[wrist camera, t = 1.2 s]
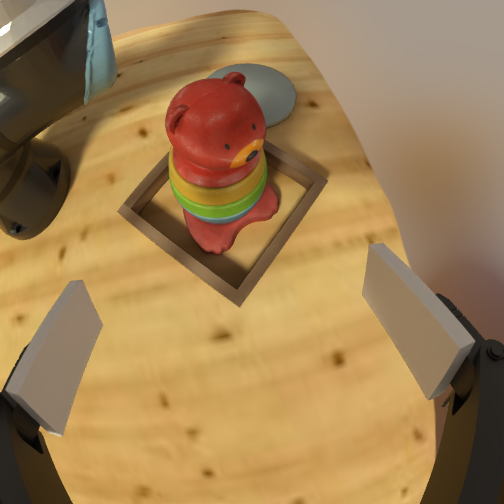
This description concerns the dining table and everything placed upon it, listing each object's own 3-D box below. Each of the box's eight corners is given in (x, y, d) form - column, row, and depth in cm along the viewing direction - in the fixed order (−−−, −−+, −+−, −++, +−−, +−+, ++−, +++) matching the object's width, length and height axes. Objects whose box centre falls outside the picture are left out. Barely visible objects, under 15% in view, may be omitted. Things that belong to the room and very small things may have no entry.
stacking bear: (211, 263, 31) (179, 198, 13) (163, 197, 32) (107, 97, 15) (285, 207, 32) (330, 106, 15) (234, 150, 34) (234, 35, 16)
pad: (181, 103, 35) (180, 99, 34) (238, 58, 38) (238, 54, 37) (260, 146, 34) (260, 142, 33) (311, 92, 37) (312, 88, 36)
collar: (124, 218, 31) (117, 211, 29) (212, 121, 35) (211, 110, 32) (239, 307, 30) (239, 306, 27) (322, 189, 33) (328, 180, 31)
